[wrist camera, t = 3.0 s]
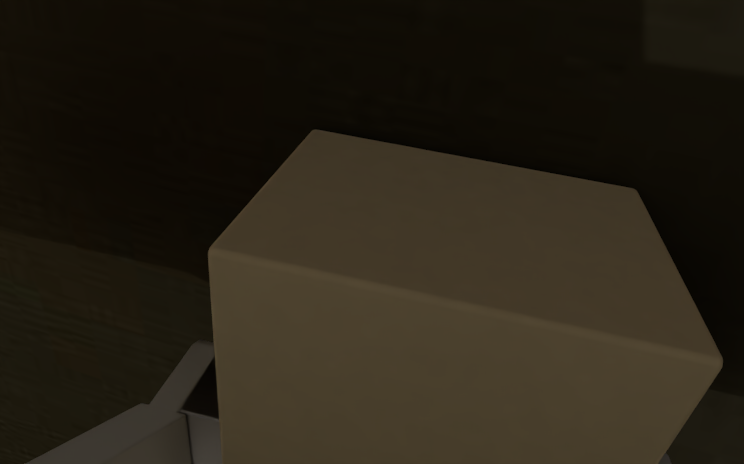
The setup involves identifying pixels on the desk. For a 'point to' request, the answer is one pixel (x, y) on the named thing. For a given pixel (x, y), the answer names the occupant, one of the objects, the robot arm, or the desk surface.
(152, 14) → the desk surface
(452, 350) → the top pad
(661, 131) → the desk surface
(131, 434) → the robot arm
